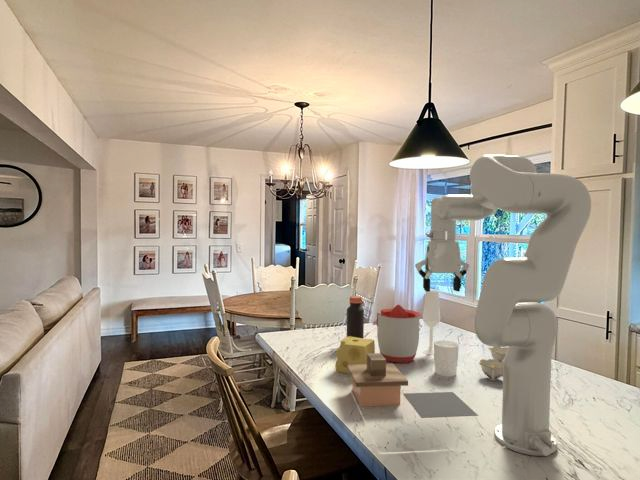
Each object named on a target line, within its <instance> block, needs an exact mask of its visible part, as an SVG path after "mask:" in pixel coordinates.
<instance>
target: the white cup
mask: <svg viewBox="0 0 640 480" xmlns="http://www.w3.org/2000/svg"><path fill="white" fill-rule="evenodd" d="M459 347H460V346H459V344H458V342H455V341H451V340H436V341H434V342H433V348H434V355H433V359H434V361H433V362H434V374H436V375H439V376H441V377H455V376H456V375H457V369H458V368H457V367H458V361H459Z"/></svg>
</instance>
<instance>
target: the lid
mask: <svg viewBox="0 0 640 480" xmlns="http://www.w3.org/2000/svg"><path fill="white" fill-rule="evenodd" d="M347 369H348V371H349V373H350V374H349V376H350V377H351V380H352V382H353V381H354V383H355V385H356V387H376V386H401V387H402V386H403V387H405V386H409V380H408V379H407V378H406V377H405V376H404V375H403V373H402V372H401V371H400V369H398V368H397V366H396V365H395V364H394V363H387V361H386V359H385V358H384V357H383V356H382V354H381V353H380V352H379V353H377V352H376V353H367V364H356V365H347Z"/></svg>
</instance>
